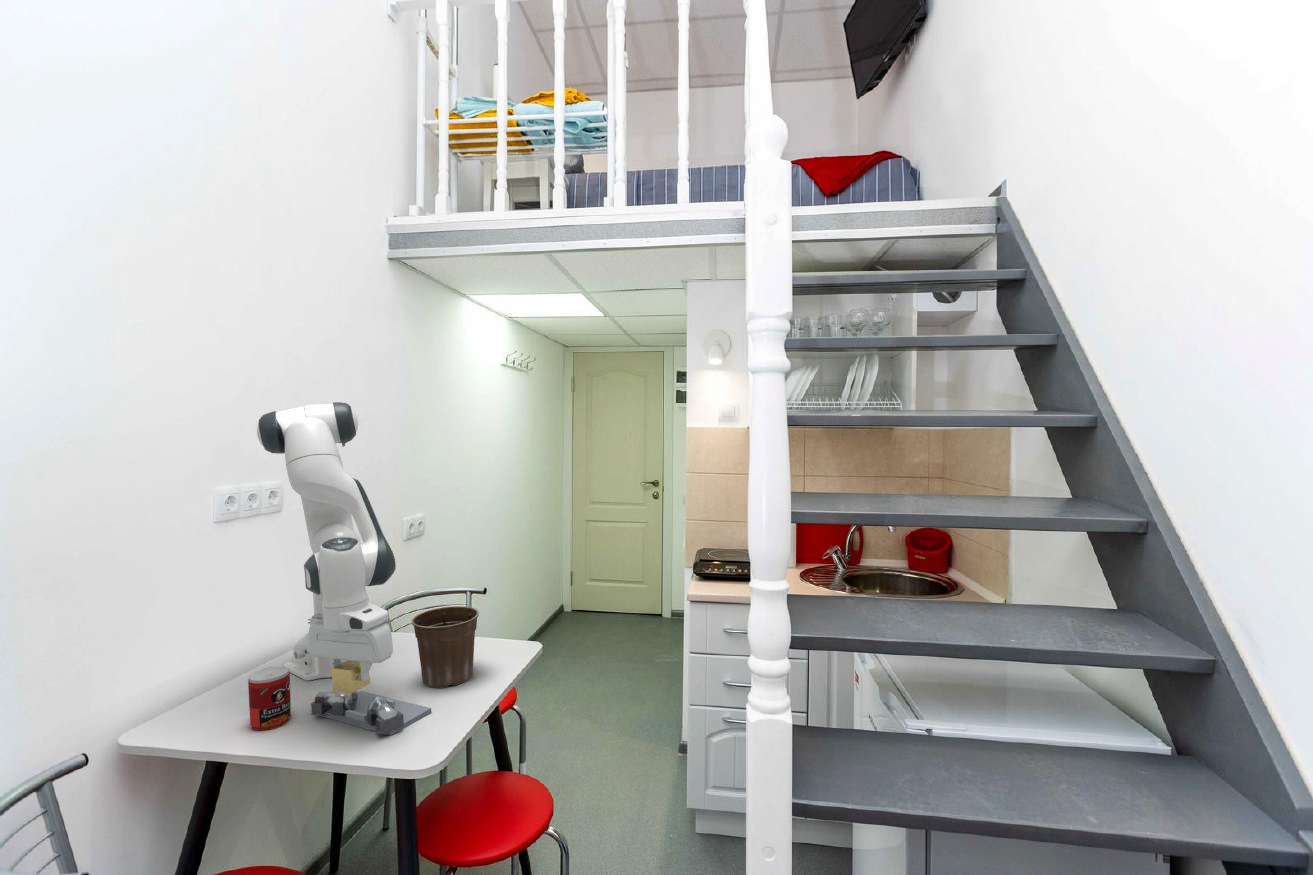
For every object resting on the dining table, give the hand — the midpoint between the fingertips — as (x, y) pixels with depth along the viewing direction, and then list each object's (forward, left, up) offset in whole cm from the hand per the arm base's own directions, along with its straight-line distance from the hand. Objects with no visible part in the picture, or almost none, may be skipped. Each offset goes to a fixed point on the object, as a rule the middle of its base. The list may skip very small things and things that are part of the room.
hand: (352, 678), depth 130 cm
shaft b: (+7, +2, -11) cm, 13 cm away
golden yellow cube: (0, 0, -2) cm, 2 cm away
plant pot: (0, +27, -11) cm, 29 cm away
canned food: (-19, -6, -11) cm, 23 cm away
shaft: (-9, +2, -11) cm, 14 cm away
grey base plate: (-1, +5, -11) cm, 12 cm away
